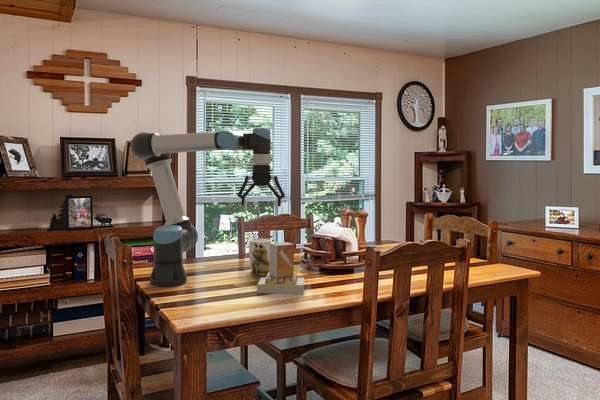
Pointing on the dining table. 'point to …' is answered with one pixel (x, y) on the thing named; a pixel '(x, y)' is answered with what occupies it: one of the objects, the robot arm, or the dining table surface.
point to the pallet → (281, 279)
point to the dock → (281, 287)
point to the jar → (252, 245)
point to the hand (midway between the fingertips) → (261, 214)
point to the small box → (281, 260)
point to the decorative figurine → (260, 261)
